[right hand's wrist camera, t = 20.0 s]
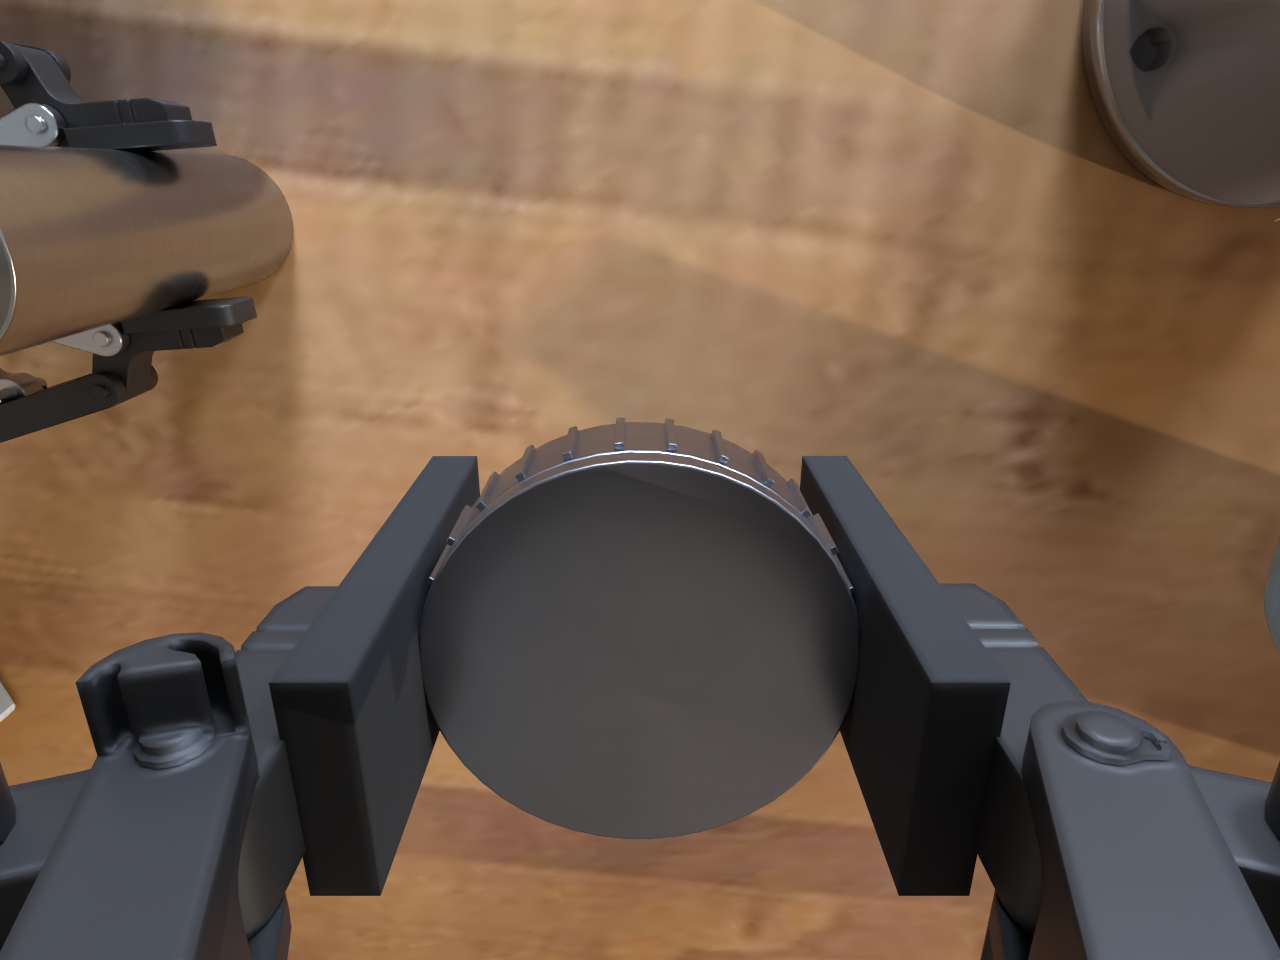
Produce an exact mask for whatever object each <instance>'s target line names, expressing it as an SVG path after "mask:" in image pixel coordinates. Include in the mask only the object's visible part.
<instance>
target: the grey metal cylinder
mask: <svg viewBox="0 0 1280 960" xmlns="http://www.w3.org/2000/svg"><path fill="white" fill-rule="evenodd" d="M292 240H293V221H292V216H291V212H290V209H289V206H288V203H287V201H286V199H285V197H284V195H283V193H282V192H281V190H280V189H279V187H278V186H277V185H276V183H275V182H274V181H273V180H272V179H271V178H270V177H269V176H268V175H267V174H266V173H265V172H264V171H263V170H261V169H260V168H259V167H257V166H256V165H254V164H253V163H251V162H249V161H247V160H244V159H242V158H239V157H236V156H231V155H225V154H206V153H183V152H160V151H136V150H113V149H91V148H69V147H46V146H23V145H0V356H1V355H5V354H8V353H12V352H15V351H19V350H22V349H26V348H29V347H33V346H36V345H40V344H43V343H47V342H50V341H54V340H57V339H61V338H64V337H68V336H71V335H75V334H78V333H82V332H85V331H89V330H92V329H96V328H99V327H103V326H106V325H110V324H113V323H117V322H120V321H124V320H127V319H130V318H134V317H137V316H141V315H144V314H148V313H151V312H155V311H158V310H162V309H165V308H169V307H172V306H176V305H179V304H183V303H186V302H190V301H193V300H197V299H200V298H204V297H207V296H211V295H214V294H218V293H221V292H225V291H228V290H232V289H235V288H239V287H242V286H246V285H249V284H253V283H256V282H259V281H262V280H264V279H266V278H268V277H270V276H271V275H272V274H274V273H275V272H276V271H277V270H278V269H279V268H280V267H281V266H282V265H283V263H284V262H285V260H286V258H287V256H288V254H289V252H290V249H291V245H292Z"/></svg>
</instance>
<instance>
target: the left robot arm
mask: <svg viewBox="0 0 1280 960" xmlns="http://www.w3.org/2000/svg"><path fill="white" fill-rule="evenodd" d="M70 78H71V74H70V69H69V66H68V64H67V62H66V61H65V60H64V59H63V57H62V56H60V55H59V54H58V53H56V52H54V51H50V50H45V49H40V48H35V47H29V46H23V45H17V44H12V43H9V42H6V41H2V40H0V85H1V87H2V88H3V90H4V91H5V93H6V94H7V96H8V98H9V99H10V101H11V102H12V104H13V105H14V107H15V108H16V110H14V111H13V112H11V113H9V114H8V115H6V116H4V117H2V118H1V119H0V145H23V146H46V147H69V148H91V149H113V150H136V151H159V150H171V149H184V148H197V147H210V146H217V144H216V140H215V136H214V132H213V128H212V123H209V122H201V121H192V118H191V113H190V109H189V107H186V106H183V105H180V104H177V103H174V102H170V101H164V100H157V99H150V98H142V99H130V100H118V101H104V102H92V103H85V102H84V101H83V100H82V99H80V98H79V97H78V95H77V94H76V93H75V91H74V90H73V88H72V87H71V85H70V83H69V82H70ZM256 317H257V315H256V310H255V306H254V302H253V298H252V297H239V298H225V299H210V300H196V301H190V302H186V303H183V304H179V305H176V306H172V307H169V308H165V309H162V310H158V311H155V312H151V313H148V314H144V315H141V316H137V317H134V318H130V319H127V320H124V321H120V322H117V323H113V324H110V325H106V326H103V327H99V328H96V329H92V330H89V331H85V332H82V333H78V334H75V335H71V336H68V337H64V338H61V339H57V340H54V341H50V342H54V343H58V344H62V345H65V346H69V347H73V348H76V349H80V350H83V351H87V352H91V353H93V368H92V373H91V374H88V375H85V376H82V377H79V378H76V379H73V380H70V381H67V382H64V383H61V384H58V385H55V386H52V387H48V388H47V383H46V382H45V380H43V379H42V378H35V377H33V376H32V375H30V374H27V373H17V374H12V373H8V372H5V371H4V370H2V369H1V368H0V443H1V442H4V441H7V440H10V439H14V438H17V437H20V436H23V435H26V434H29V433H32V432H36V431H39V430H42V429H45V428H48V427H51V426H54V425H57V424H61V423H64V422H67V421H70V420H73V419H76V418H79V417H83V416H86V415H89V414H92V413H95V412H98V411H101V410H104V409H108V408H110V407H113V406H115V405H117V404H120V403H122V402H124V401H127V400H129V399H131V398H133V397H136V396H138V395H140V394H142V393H144V392H147V391H149V390H151V389H153V388H154V387H155V386H156V384H157V381H158V376H157V372H156V370H155V369H154V367H153V366H152V365H151V361H152V355H153V352H154V351H158V350H172V349H184V348H185V349H187V348H202V347H213V346H215V345H218V344H220V343H222V342H225V341H227V340H230V339H232V338H234V337H236V336H238V335H240V334H242V333H244V331H243V327H242V323H243V322H246V321H248V320H251V319H254V318H256Z"/></svg>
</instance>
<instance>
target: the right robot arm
mask: <svg viewBox="0 0 1280 960" xmlns="http://www.w3.org/2000/svg"><path fill="white" fill-rule="evenodd" d="M1082 31H1083V53H1084V61H1085V69H1086V74H1087V79H1088V83H1089V88H1090V91H1091V94H1092V97H1093V100H1094V103H1095V106H1096V109H1097V111H1098V114H1099V116H1100V118H1101V120H1102V122H1103V124H1104V127H1105V128H1106V130H1107V132H1108V133H1109V135H1110V136H1111V138H1112V140H1113V141H1114V143H1115V144H1116V145H1117V147H1118V148H1119V149H1120V151H1121V152H1122V153H1123V154H1124V156H1125V157H1126V158H1127V159H1128V160H1129V161H1130V162H1131V163H1132V164H1133V165H1134V166H1135V167H1136V168H1137V169H1138V170H1139V171H1141V172H1142V173H1143V174H1144V175H1146V176H1147V177H1148V178H1150V179H1151V180H1152V181H1154V182H1156V183H1157V184H1159V185H1161V186H1162V187H1164V188H1166V189H1167V190H1170V191H1172V192H1174V193H1176V194H1179V195H1181V196H1183V197H1186V198H1190V199H1193V200H1196V201H1199V202H1204V203H1209V204H1215V205H1223V206H1236V207H1254V208H1273V207H1280V0H1084V9H1083V25H1082ZM1278 220H1280V218H1279V219H1277V220H1275V221H1278ZM800 491H801V493H802V495H803V497H804V499H805V501H806V503H807V505H808V507H809V509H810V511H811V513H812V515H815V514H817V513H819V515H820V517H821V519H822V521H823V522H824V524H825V526H826V528H827V530H828V532H829V534H830V536H831V538H832V540H833V541H834V543H835V545H836V547H837V549H838V551H839V553H837V554H836V555H837V557H838V559H839V561H840V563H841V565H842V567H843V568H844V570H845V572H846V574H847V576H848V578H849V580H850V582H851V584H852V586H853V588H854V592H855V594H853V595H852V598H853V601H854V604H855V607H856V612H857V617H858V623H859V629H860V656H859V665H858V674H857V682H856V690H855V693H854V696H853V700H852V703H851V707H850V709H849V711H848V714H847V716H846V718H845V720H844V722H843V725H842V727H841V729H840V732H841V735H842V738H843V741H844V743H845V746H846V749H847V752H848V755H849V757H850V760H851V763H852V766H853V769H854V771H855V774H856V777H857V780H858V783H859V785H860V788H861V791H862V794H863V797H864V799H865V802H866V805H867V808H868V810H869V813H870V816H871V819H872V822H873V824H874V827H875V830H876V833H877V836H878V838H879V841H880V844H881V847H882V850H883V852H884V855H885V858H886V861H887V864H888V866H889V869H890V872H891V875H892V878H893V880H894V883H895V886H896V889H897V892H898V894H899V896H969V894H970V889H971V884H972V879H973V874H974V868H975V863H976V858H977V854H978V856H979V858H980V860H981V862H982V864H983V866H984V868H985V870H986V872H987V874H988V876H989V878H990V880H991V882H992V884H993V886H994V888H995V893H994V898H993V903H992V907H991V912H990V917H989V921H988V926H987V931H986V936H985V940H984V945H983V950H982V955H981V959H980V960H1280V762H1279V764H1278V767H1277V770H1276V773H1275V776H1274V779H1273V782H1272V783H1270V782H1265V781H1260V780H1255V779H1251V778H1246V777H1241V776H1236V775H1231V774H1226V773H1221V772H1216V771H1211V770H1206V769H1202V768H1198V767H1194V766H1190V765H1187V763H1186V761H1185V759H1184V757H1183V755H1182V754H1181V753H1180V751H1179V750H1178V749H1177V748H1176V746H1175V745H1174V744H1173V743H1172V741H1171V740H1170V739H1169V738H1168V737H1167V736H1166V735H1164V734H1163V733H1161V732H1160V731H1159V730H1157V729H1156V728H1154V727H1153V726H1152V725H1150V724H1149V723H1147V722H1146V721H1144V720H1142V719H1139V718H1137V717H1135V716H1133V715H1131V714H1128V713H1126V712H1124V711H1122V710H1119V709H1116V708H1112V707H1108V706H1104V705H1100V704H1097V703H1093V702H1089V701H1088V700H1087V699H1086V698H1085V697H1084V695H1083V694H1082V693H1081V692H1080V691H1079V690H1078V688H1077V687H1076V686H1075V685H1074V684H1073V683H1072V681H1071V680H1070V679H1069V678H1068V677H1067V675H1066V674H1065V673H1064V672H1063V671H1062V670H1061V668H1060V667H1059V666H1058V665H1057V664H1056V662H1055V661H1054V660H1053V659H1052V658H1051V657H1050V655H1049V654H1048V653H1047V652H1046V651H1045V649H1044V648H1043V647H1039V642H1038V641H1037V640H1036V639H1035V638H1034V636H1033V635H1032V634H1031V633H1030V632H1029V631H1028V629H1024V628H1023V623H1022V622H1021V621H1020V620H1019V619H1018V618H1017V616H1016V615H1015V614H1014V613H1013V612H1012V611H1011V609H1010V608H1009V607H1008V606H1007V605H1006V603H1005V602H1003V601H1001V600H1000V599H998V598H996V597H995V596H993V595H992V594H990V593H988V592H987V591H985V590H983V589H982V588H980V587H978V586H977V585H975V584H939V583H938V582H937V580H936V579H935V577H934V576H933V575H932V573H931V572H930V571H929V569H928V568H927V566H926V565H925V564H924V562H923V561H922V560H921V558H920V557H919V555H918V554H917V553H916V551H915V550H914V549H913V547H912V546H911V544H910V543H909V542H908V540H907V539H906V538H905V536H904V535H903V533H902V532H901V531H900V529H899V528H898V527H897V525H896V524H895V522H894V521H893V520H892V518H891V517H890V516H889V514H888V513H887V511H886V510H885V509H884V507H883V506H882V504H881V503H880V502H879V500H878V499H877V498H876V496H875V495H874V493H873V492H872V491H871V489H870V488H869V487H868V485H867V484H866V482H865V481H864V480H863V478H862V477H861V476H860V474H859V473H858V471H857V470H856V469H855V467H854V466H853V465H852V463H851V462H850V460H849V459H848V458H847V456H802V469H801V482H800ZM479 497H480V489H479V476H478V463H477V456H433V457H432V458H431V460H430V461H429V462H428V464H427V465H426V467H425V468H424V469H423V471H422V472H421V473H420V475H419V476H418V478H417V479H416V480H415V482H414V483H413V485H412V486H411V487H410V489H409V490H408V491H407V493H406V494H405V496H404V497H403V498H402V500H401V501H400V502H399V504H398V505H397V507H396V508H395V509H394V511H393V512H392V513H391V515H390V516H389V518H388V519H387V520H386V522H385V523H384V524H383V526H382V527H381V529H380V530H379V531H378V533H377V534H376V535H375V537H374V538H373V540H372V541H371V542H370V544H369V545H368V546H367V548H366V549H365V551H364V552H363V553H362V555H361V556H360V557H359V559H358V560H357V562H356V563H355V564H354V566H353V567H352V568H351V570H350V571H349V573H348V574H347V575H346V577H345V578H344V579H343V581H342V582H341V584H340V585H339V586H338V587H304V588H303V589H301V590H299V591H298V592H296V593H295V594H293V595H291V596H290V597H288V598H286V599H285V600H283V601H281V602H280V603H278V604H277V605H275V606H274V607H273V609H272V610H271V611H270V612H269V613H268V614H267V616H266V617H265V618H264V619H263V620H262V622H261V623H260V624H259V625H258V626H257V631H256V632H252V633H251V635H250V636H249V637H248V638H247V639H246V641H245V642H244V643H243V644H242V645H241V650H237V651H236V653H235V651H234V646H233V645H231V644H230V643H229V642H228V641H226V640H225V639H224V638H222V637H220V636H215V635H210V634H205V633H183V634H171V635H167V636H162V637H158V638H153V639H148V640H144V641H141V642H139V643H136V644H134V645H131V646H128V647H126V648H123V649H121V650H118V651H116V652H114V653H112V654H110V655H109V656H107V657H106V658H104V659H102V660H101V661H99V662H97V663H96V664H94V665H92V666H91V667H90V668H89V669H88V670H87V671H86V672H85V673H84V674H83V675H82V676H81V677H80V678H79V679H78V680H77V681H76V685H77V689H78V692H79V695H80V699H81V702H82V706H83V709H84V712H85V716H86V719H87V722H88V726H89V729H90V732H91V736H92V739H93V742H94V746H95V749H96V752H97V758H96V760H95V762H94V764H93V766H92V768H91V769H88V770H85V771H81V772H77V773H72V774H67V775H62V776H57V777H52V778H48V779H43V780H38V781H33V782H28V783H23V784H18V785H13V786H8V784H7V781H6V778H5V775H4V772H3V769H2V767H1V764H0V960H287V957H288V949H289V942H290V934H291V921H290V913H289V907H288V903H287V898H286V893H285V891H286V889H287V887H288V885H289V883H290V881H291V879H292V877H293V875H294V873H295V871H296V869H297V867H298V865H299V863H300V861H301V859H302V857H303V861H304V866H305V871H306V876H307V881H308V886H309V892H310V896H381V893H382V890H383V887H384V884H385V882H386V879H387V876H388V873H389V871H390V868H391V865H392V862H393V859H394V857H395V854H396V851H397V848H398V845H399V843H400V840H401V837H402V834H403V831H404V829H405V826H406V823H407V820H408V817H409V815H410V812H411V809H412V806H413V803H414V801H415V798H416V795H417V792H418V790H419V787H420V784H421V781H422V778H423V776H424V773H425V770H426V767H427V764H428V762H429V759H430V756H431V753H432V750H433V748H434V745H435V742H436V739H437V736H438V734H439V731H440V730H439V728H438V726H437V724H436V722H435V720H434V717H433V715H432V712H431V710H430V708H429V705H428V703H427V700H426V696H425V692H424V686H423V679H422V670H421V661H420V652H419V632H420V624H421V619H422V614H423V610H424V605H425V601H426V599H427V596H428V593H429V591H430V588H431V585H428V584H427V583H428V580H429V577H430V575H431V573H432V571H433V569H434V567H435V566H436V564H437V562H438V560H439V558H440V556H441V554H442V552H443V550H444V548H445V546H446V541H447V539H448V537H449V535H450V533H451V532H452V530H453V528H454V526H455V524H456V522H457V520H458V518H459V516H460V514H461V513H462V511H463V509H464V507H465V506H466V505H468V506H469V507H472V506H473V504H474V503H475V502H476V501H477V499H478V498H479ZM1264 609H1265V615H1266V620H1267V624H1268V628H1269V631H1270V634H1271V637H1272V639H1273V641H1274V643H1275V645H1276V647H1277V649H1278V651H1279V653H1280V538H1279V541H1278V545H1277V548H1276V552H1275V555H1274V559H1273V562H1272V566H1271V569H1270V573H1269V576H1268V579H1267V583H1266V587H1265V595H1264Z"/></svg>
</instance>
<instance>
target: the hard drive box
mask: <svg viewBox="0 0 1280 960" xmlns="http://www.w3.org/2000/svg"><path fill="white" fill-rule="evenodd" d="M14 709H15V704H14V702H13V700H12V699H11V697H10V696H9V694H8V693H7V691H6V690H5V688H4V687H3V685H2V683H1V682H0V722H1V721H2V720H3V719H4V718H6V717H7V716H8V715H9V714H10V713H11V712H12V711H13V710H14Z"/></svg>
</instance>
